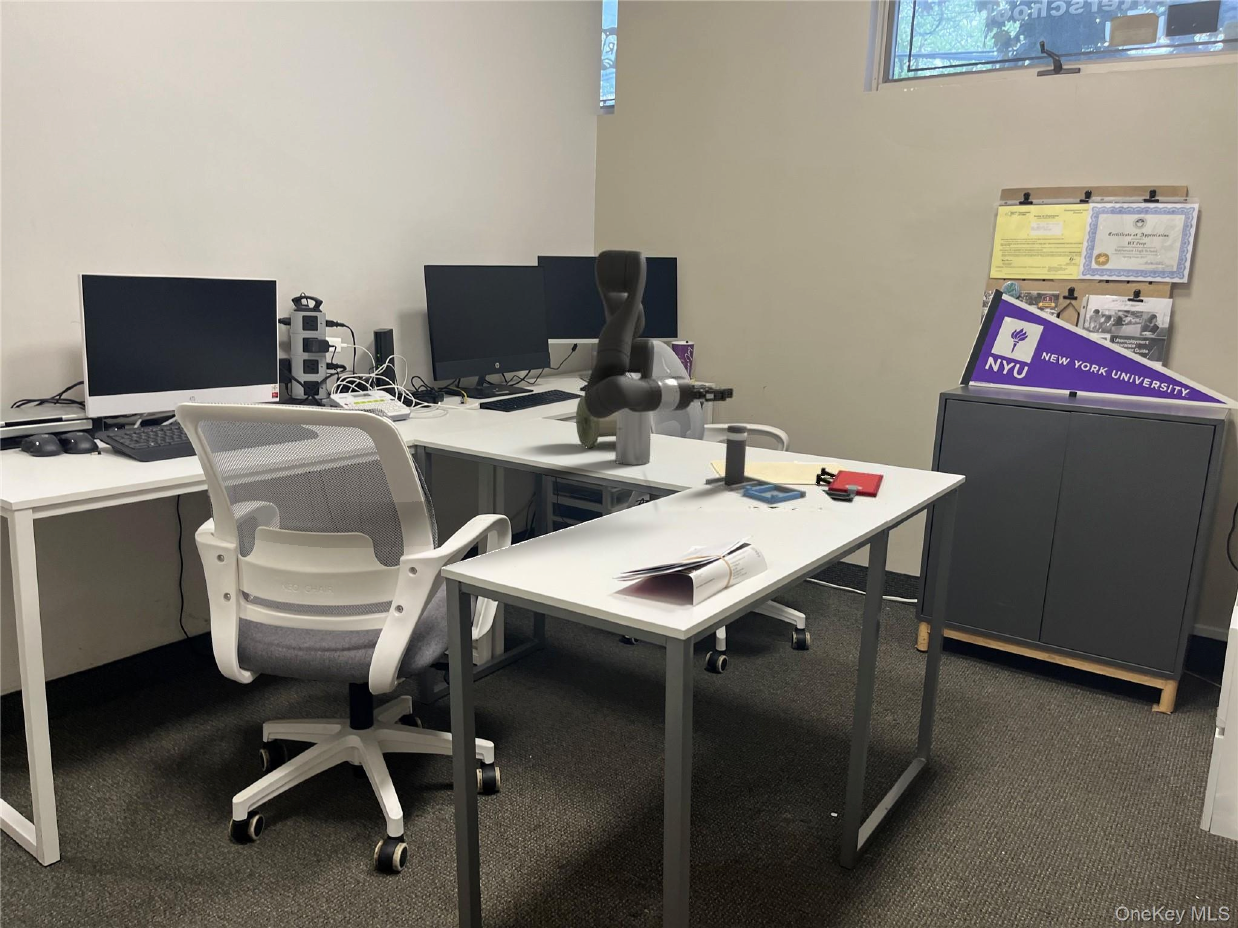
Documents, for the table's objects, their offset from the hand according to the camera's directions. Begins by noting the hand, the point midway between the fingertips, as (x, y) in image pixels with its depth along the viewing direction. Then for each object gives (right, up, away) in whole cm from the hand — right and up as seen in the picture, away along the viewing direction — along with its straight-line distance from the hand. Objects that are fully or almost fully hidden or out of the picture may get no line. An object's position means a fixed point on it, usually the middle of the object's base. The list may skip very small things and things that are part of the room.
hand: (718, 391), depth 204 cm
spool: (-25, -11, +59) cm, 65 cm away
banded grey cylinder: (+5, -22, +10) cm, 24 cm away
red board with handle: (+33, -23, +16) cm, 43 cm away
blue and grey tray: (+9, -24, +5) cm, 26 cm away
